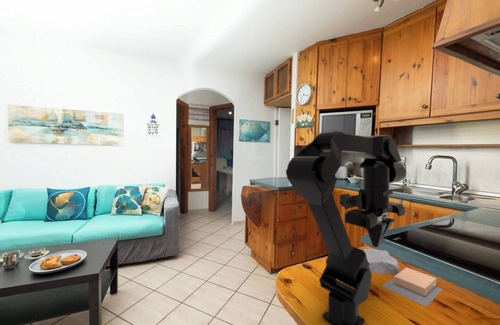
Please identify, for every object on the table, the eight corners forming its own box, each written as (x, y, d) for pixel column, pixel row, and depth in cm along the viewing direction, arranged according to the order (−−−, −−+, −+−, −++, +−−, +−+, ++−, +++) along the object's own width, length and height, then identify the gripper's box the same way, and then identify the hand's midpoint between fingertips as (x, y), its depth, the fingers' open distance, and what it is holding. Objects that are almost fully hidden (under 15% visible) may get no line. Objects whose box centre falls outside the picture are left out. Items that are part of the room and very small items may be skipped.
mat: (426, 307, 52) (426, 306, 52) (381, 287, 61) (381, 286, 61) (442, 290, 59) (442, 289, 59) (399, 274, 67) (399, 273, 67)
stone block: (367, 280, 68) (403, 276, 66) (364, 264, 68) (399, 260, 66) (356, 262, 79) (387, 259, 77) (353, 249, 79) (383, 245, 77)
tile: (424, 288, 56) (436, 278, 60) (394, 276, 61) (406, 267, 66) (424, 297, 56) (436, 286, 60) (394, 283, 61) (406, 274, 66)
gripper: (364, 179, 68) (364, 230, 68) (325, 185, 57) (325, 245, 58) (405, 183, 58) (405, 241, 59) (368, 191, 48) (368, 261, 48)
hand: (375, 246), depth 56 cm, fingers closed
